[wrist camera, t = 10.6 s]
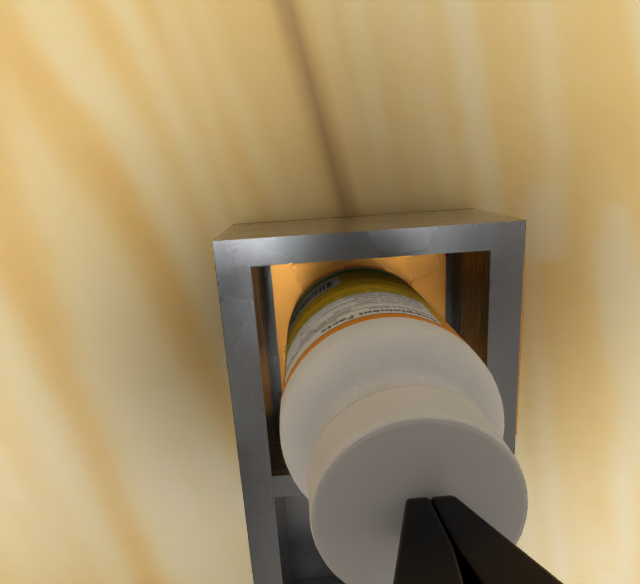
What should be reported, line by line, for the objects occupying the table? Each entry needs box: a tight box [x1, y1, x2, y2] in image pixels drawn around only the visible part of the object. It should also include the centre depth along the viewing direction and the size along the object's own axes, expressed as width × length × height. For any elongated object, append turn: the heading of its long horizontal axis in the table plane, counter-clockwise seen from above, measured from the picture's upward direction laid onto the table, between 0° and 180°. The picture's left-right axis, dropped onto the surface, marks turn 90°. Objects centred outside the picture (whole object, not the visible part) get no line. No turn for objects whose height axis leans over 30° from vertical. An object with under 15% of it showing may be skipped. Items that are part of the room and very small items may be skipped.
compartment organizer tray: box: [212, 209, 526, 584], centre depth 18 cm, size 24×9×4 cm, turn 4°
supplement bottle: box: [280, 267, 528, 584], centre depth 13 cm, size 5×5×10 cm
